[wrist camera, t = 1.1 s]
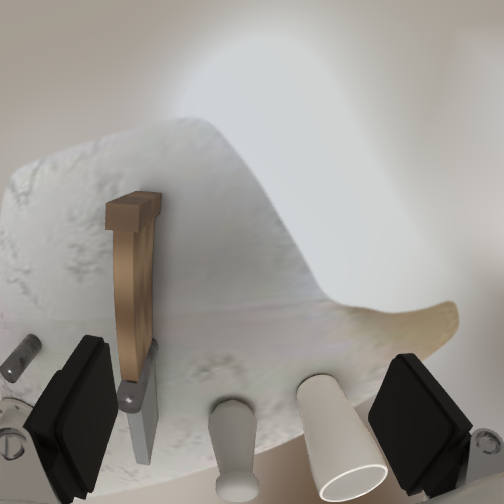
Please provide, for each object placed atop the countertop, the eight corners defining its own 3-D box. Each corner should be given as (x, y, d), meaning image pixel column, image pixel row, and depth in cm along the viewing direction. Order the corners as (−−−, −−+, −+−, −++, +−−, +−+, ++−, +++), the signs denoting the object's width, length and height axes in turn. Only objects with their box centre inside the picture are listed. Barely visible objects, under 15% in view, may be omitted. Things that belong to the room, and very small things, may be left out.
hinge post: (158, 355, 32) (142, 415, 23) (137, 352, 32) (116, 411, 23) (158, 337, 32) (140, 396, 23) (136, 334, 31) (112, 391, 22)
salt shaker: (226, 431, 37) (231, 513, 24) (198, 407, 35) (194, 494, 23) (264, 413, 36) (279, 497, 24) (237, 387, 34) (246, 477, 22)
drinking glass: (278, 397, 35) (303, 499, 21) (314, 359, 34) (358, 459, 20) (318, 413, 37) (351, 504, 23) (353, 379, 36) (402, 468, 22)
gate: (156, 339, 31) (142, 386, 23) (134, 336, 31) (115, 381, 23) (161, 193, 27) (139, 205, 19) (135, 191, 27) (105, 202, 19)
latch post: (43, 352, 31) (18, 385, 25) (28, 348, 31) (3, 380, 24) (39, 336, 31) (12, 368, 24) (24, 332, 30) (-3, 363, 24)
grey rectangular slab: (158, 418, 35) (149, 465, 27) (146, 416, 35) (136, 463, 27) (154, 357, 32) (140, 406, 25) (141, 356, 32) (125, 404, 25)
